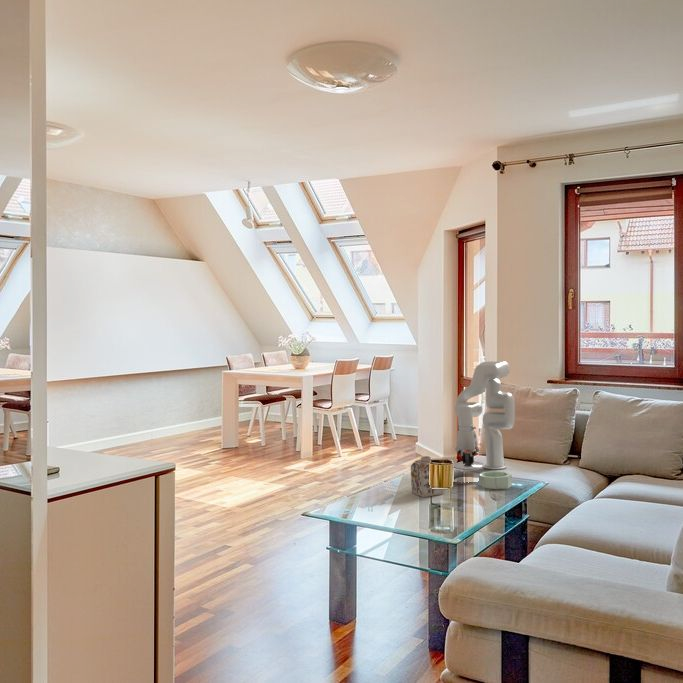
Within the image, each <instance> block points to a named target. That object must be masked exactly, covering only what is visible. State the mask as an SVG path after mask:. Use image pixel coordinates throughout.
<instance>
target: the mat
mask: <svg viewBox="0 0 683 683" xmlns="http://www.w3.org/2000/svg"><path fill="white" fill-rule="evenodd" d="M455 484H462V485H475V486H478V485H479V481H478V482H469V483H468V482H466V483H464V482H462V483H461V482H458V481H457V482H456V483H455Z"/></svg>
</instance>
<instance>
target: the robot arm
mask: <svg viewBox="0 0 683 683" xmlns="http://www.w3.org/2000/svg"><path fill="white" fill-rule="evenodd" d="M510 370H511V369H510V364H509V363H508V362H507V361H502V360H501V361H500V360H497V361H482V362H480V363H479V364H478V365H477V366H476V367H475V368H474V371H473V375H472V378H471V381H470V384H469V385H468V386H467V387H466V388H464V390H462V391H461V392H460V393H459V394H458V396H457V399H456V401H455V405H454V413H455V414H456V416H457V422H458V423H457V424H458V431H457V435H456V446H455V449H454V450H455V451H456V452H457V453H458V454H460V456H461V460H462V461H461V462H463V464H465V456H464V453H466V451H469V453H470V457H469V459H470V464H473V462H474V461H475V459H474V458H475V457H474V456H475V455H476V454H477V453H479V452H480V448H479V445H478V437H477V434H476V426H474V422H473V418H475V417H480V416H481V415H482V413H483V406H482V404H481V403H479V402H475V401H474V402H473V401H472V402H469V399H472V398H474V397H477V396H479V395H481V394H483V393H485V406H486V408H487V409H489V410H504V411H487V412H484V413H483V416H482V423H483V429H484V437H485V440H484V441H485V442H484V443H485V455H486V456H485V457H486V458H485V459H486V460H485V461H486V464H483V465H484V466H483V468H484V469H486V470H492V471H497V470H504V469H507V467H508V466H507V464H504V462H505V458H504V445H503V444H504V442H503V439H504V438H503V435H502V432H501V431H500V430H511V429H513V427H514V426H515V418H516V417H515V414H516V413H515V410H516V408H515V406H516V405H515V404H516V403H515V402H516V401H515V397H514V395H513V394H512V393H510V392H502V383H501V380H500V379H503V378H505V377H507V376H509V373H510Z"/></svg>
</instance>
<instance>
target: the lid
mask: <svg viewBox="0 0 683 683" xmlns="http://www.w3.org/2000/svg"><path fill="white" fill-rule="evenodd" d="M464 456H465V464H463V462H462V461H459V462H455V463H453V464H454V467H453V469H456V470H463V471H466V470H467V471H469V470H470V471H471V470H478V469H479V470H480V469H481V468H484V465H485V464H484V463H483V462H481V461H475V460H474V462H473V464H470V459H469V457H470V452H465V453H464Z"/></svg>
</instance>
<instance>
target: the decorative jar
mask: <svg viewBox="0 0 683 683" xmlns="http://www.w3.org/2000/svg"><path fill="white" fill-rule="evenodd" d="M431 458H432V457H431V456H427V455H423V456H421V457H420V459H417V460H415V461H413V462H412V463H411V465H410V482H411V493H412V494H414V495H415V496H416V495H417V496H419V497H421V498H428V497H435V496H440V495H444V488H443V489H431V488H430V485H429V463H430V461H431V460H432V459H433V458H432V459H431Z"/></svg>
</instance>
